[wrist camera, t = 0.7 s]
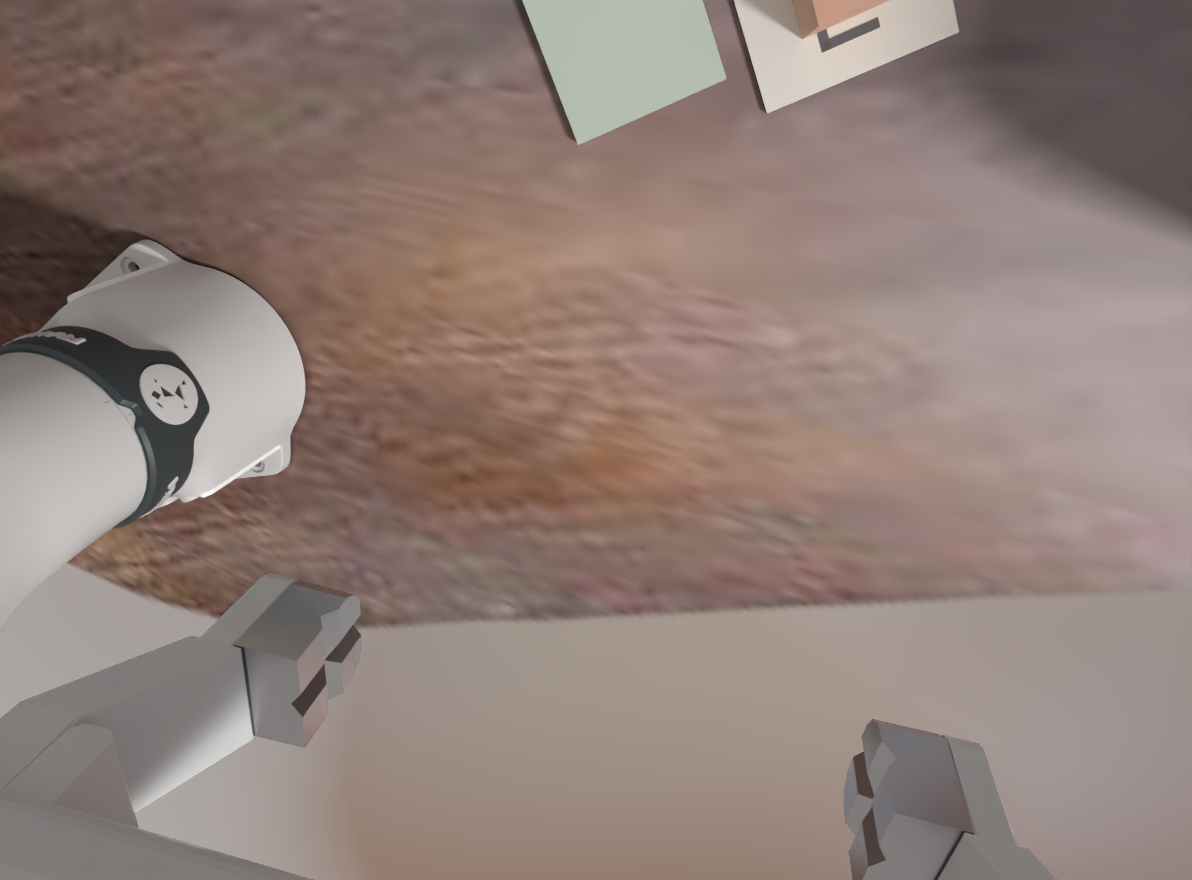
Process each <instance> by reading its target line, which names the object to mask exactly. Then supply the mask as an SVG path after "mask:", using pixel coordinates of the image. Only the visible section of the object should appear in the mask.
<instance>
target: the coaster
mask: <svg viewBox="0 0 1192 880" xmlns="http://www.w3.org/2000/svg"><path fill="white" fill-rule="evenodd" d="M522 1H523V3H524V6H525V9H526V11H527V14H528V16H529V19H530V22H531V24H532V27H533V29H534V32H535V35H536V37H537V40H538V42H539V45H540V47H541V50H542V53H543V55H544V58H545V60H546V63H547V66H548V68H549V71H550V73H551V76H552V79H553V81H554V84H555V86H556V89H557V91H558V94H559V97H560V99H561V102H562V104H563V107H564V110H565V112H566V115H567V117H568V120H569V123H570V125H571V128H572V130H573V133H574V136H575V138H576V141H577V143H578V145H580V144H582V143H584V142H587V141H589V140H591V139H593V138H596V137H598V136H600V135H602V134H605V133H607V132H609V131H611V130H614V129H616V128H618V127H620V126H622V125H625V124H627V123H629V122H631V121H634V120H636V119H638V118H640V117H643V116H645V115H647V114H649V113H652V112H654V111H656V110H658V109H661V108H663V107H665V106H667V105H670V104H672V103H674V102H676V101H678V100H681V99H683V98H685V97H687V96H690V95H692V94H694V93H696V92H699V91H701V90H703V89H705V88H708V87H710V86H712V85H714V84H717V83H719V82H721V81H723V80H726V79H727V78H726V75H725V71H724V68H723V65H722V62H721V58H720V55H719V52H718V48H717V45H716V42H715V39H714V35H713V32H712V29H711V26H710V22H709V19H708V16H707V13H706V9H705V6H704V3H703V0H522Z"/></svg>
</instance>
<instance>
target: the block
mask: <svg viewBox="0 0 1192 880" xmlns="http://www.w3.org/2000/svg"><path fill="white" fill-rule="evenodd" d="M792 1H793V5H794V9H795V13H796V16H797V20H798V24H799V28H800V31H801V35H802V39H805V38H807V37H809V36H811V35H814V34H816V33H818V32H820V31H822V30H825V29H827V28H829V27H831V26H834V25H836V24H838V23H840V22H843V21H845V20H847V19H849V18H851V17H854V16H856V15H858V14H860V13H863V12H865V11H867V10H869V9H872V8H874V7H876V6H878V5H880V4H883V3H885V2H887V1H889V0H792Z"/></svg>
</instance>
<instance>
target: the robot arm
mask: <svg viewBox="0 0 1192 880" xmlns="http://www.w3.org/2000/svg"><path fill="white" fill-rule="evenodd" d="M136 264H137V265H138V267H139V270H138V269H137V267H136ZM67 301H68V304H66V305H65V306H64V307H62V308H61V309H60V310H59V311H58V312H57V313H56V314H55V315H54V316H53V317H52V318H51V319H50V320H49V321H48V322H47V323H46V324H45V325H44V326H43V327H42V328H41V329H40V330H39V331H38V332H34V333H29V334H26V335H23V336H21V337H18V338H15V339H14V340H12V341H10V342H7V343H5V344H4V345H2V346H1V347H0V634H1V633H2V630H3V629H4V628H5V626H6V624H7V623H8V621H9V620H10V618H11V617H12V616H13V614H14V613H15V612H16V610H17V609H18V608H19V606H20V605H21V604H22V603H23V602H24V601H25V600H26V599H27V598H28V596H29V595H30V594H31V593H32V592H33V591H34V590H35V589H36V588H37V587H38V586H39V585H41V584H42V583H43V582H44V581H45V580H46V579H48V578H49V577H50V576H51V575H52V574H54V573H55V572H56V571H57V570H58V569H59V568H61V567H62V566H63V565H64V564H66V563H67V562H68V561H69V560H70V559H72V558H73V557H74V556H75V555H77V554H78V553H79V552H80V551H82V550H83V549H84V548H86V547H87V546H88V545H90V544H91V543H92V542H94V541H95V540H96V539H98V538H99V537H100V536H102V535H103V534H105V533H106V532H107V531H109V530H110V529H113V528H118V527H122V526H125V525H128V524H130V523H132V522H133V521H135V520H137V519H138V518H141V517H143V516H145V515H146V514H147V515H148V514H149V513H151V512H152V511H154V510H155V509H157V508H159V507H162V506H165V505H167V504H170V503H172V502H173V501H175V500H176V499H178V498H179V499H180V500H181V501H182V502H189V501H192V500H194V499H196V498H198V497H199V496H200V497H207V496H209V495H211V494H213V493H215V492H216V491H218V490H219V489H221V488H222V487H224V486H225V485H227V484H228V483H229V482H231V481H232V480H234V479H236V478H245V477H255V476H265V475H273V474H277V473H279V472H280V471H282V470H284V469H285V468H287V466H288V465H289V462H290V436H291V432H292V430H293V427H294V425H295V424H296V422H297V420H298V418H299V415H300V413H301V410H302V407H303V403H304V397H305V375H304V369H303V364H302V360H301V357H300V354H299V351H298V348H297V346H296V344H295V342H294V339H293V337H292V335H291V334H290V332H289V330H288V328H287V327H286V325H285V324H284V322H283V321H282V319H281V318H280V317H279V315H278V314H277V313H276V312H275V311H274V309H273V308H272V307H271V306H270V305H269V304H268V303H267V302H266V301H265V300H264V299H263V298H262V297H261V296H260V295H259V294H257V293H256V292H255V291H254V290H253V289H251V288H250V287H248V286H247V285H246V284H244V283H242V282H241V281H239V280H237V279H236V278H234V277H232V276H230V275H228V274H226V273H223V272H221V271H218V270H215V269H212V268H208V267H204V266H200V265H196V264H192V263H189V262H187V261H184V260H182V259H181V258H180V257H178V256H177V255H175V254H174V253H172V252H171V251H169V250H168V249H167V248H165V247H163V246H162V245H160V244H158V243H156V242H154V241H152V240H146V239H145V240H141V241H139V242H136V243H134V244H132V245H130V246H129V247H128V248H127V249H126V250H125V251H124V252H123V253H122V254H120V255H119V256H118V257H117V258H116V259H115V260H114V261H113V262H112V263H111V264H110V265H109V266H108V267H106V268H105V269H104V270H103V271H102V272H101V273H100V274H99V275H98V276H97V277H96V278H95V279H94V280H92V281H91V282H90V283H89V284H88V285H87V286H86V287H85V288H84V289H83V290H80V291H77V292H75V293H73V294H71V295H69V296H68V297H67ZM260 461H261V462H260ZM359 616H360V603H359V598H358V597H356V596H355V595H353V594H350V593H346V592H342V591H338V590H335V589H331V588H327V587H323V586H320V585H316V584H312V583H308V582H305V581H301V580H295V579H291V578H287V577H284V576H280V575H276V574H273V573H270V574H268V575H265V576H262V577H261V578H260V579H259V580H258V581H257V582H256V583H255V584H254V585H253V586H252V587H251V588H250V589H249V590H248V591H247V592H246V593H245V594H244V595H243V596H242V597H241V598H240V599H239V600H238V601H237V602H236V603H235V604H234V605H233V606H232V607H231V608H230V609H229V610H228V611H227V612H226V613H225V614H224V615H223V616H222V617H221V618H219V619H218V620H217V621H216V622H215V624H213V625H212V626H211V628H209V629H208V631H206V632H205V633H204V634H203V635H202V636H201V637H200V638H199V637H195V636H190V637H187V638H184V639H182V640H179V641H177V642H174V643H171V644H169V645H166V646H163V647H161V648H158V649H156V650H153V651H151V652H148V653H145V654H143V655H140V656H138V657H135V658H133V659H130V660H127V661H125V662H122V663H119V664H117V665H114V666H112V667H109V668H107V669H104V670H101V671H99V672H96V673H94V674H91V675H88V676H86V677H83V678H81V679H78V680H75V681H73V682H70V683H68V684H65V685H63V686H60V687H57V688H55V689H52V690H49V691H47V692H44V693H42V694H39V695H37V696H34V697H31V698H29V699H26V700H24V701H21V702H20V703H18V704H17V705H16V706H15V707H14V708H12V709H11V710H10V711H9V712H8V713H6V714H5V715H4V716H3V717H2V718H0V880H312V879H309V878H306V877H302V876H299V875H295V874H292V873H289V872H285V871H282V870H278V869H275V868H272V867H268V866H264V865H261V864H258V863H254V862H251V861H248V860H244V859H241V858H237V857H234V856H230V855H227V854H224V853H220V852H217V851H213V850H210V849H207V848H203V847H200V846H196V845H193V844H190V843H186V842H183V841H179V840H176V839H172V838H169V837H166V836H162V835H159V834H155V833H152V832H149V831H145V830H142V829H139V827H138V824H137V820H136V816H135V813H136V812H137V811H138V810H140V809H142V808H143V807H145V806H147V805H148V804H150V803H151V802H153V801H155V800H156V799H158V798H159V797H161V796H163V795H164V794H166V793H167V792H169V791H171V790H172V789H174V788H175V787H177V786H179V785H180V784H182V783H183V782H185V781H187V780H188V779H190V778H191V777H193V776H195V775H196V774H198V773H199V772H201V771H203V770H204V769H206V768H207V767H209V766H211V765H212V764H214V763H215V762H217V761H219V760H220V759H222V758H223V757H225V756H226V755H228V754H230V753H231V752H233V751H234V750H236V749H238V748H239V747H241V746H242V745H244V744H246V743H247V742H249V741H251V740H252V739H253V736H258V737H262V738H266V739H270V740H274V741H279V742H283V743H287V744H291V745H296V746H300V747H304V748H305V747H306V746H307V745H308V743H309V742H310V740H311V739H312V737H313V736H314V734H315V733H316V731H317V730H318V729H319V727H320V725H321V724H322V723H323V721H324V720H325V718H326V717H327V715H328V700H329V699H331V698H333V697H335V696H337V695H339V694H341V693H343V692H344V690H345V688H346V687H347V686H348V684H349V683H350V681H351V679H352V677H353V675H354V673H355V670H356V667H357V665H358V662H359V658H360V653H361V634H360V633H359V632H358V630H357V629H356V627H355V626H354V625H353V624H354V622H355V621H356V620H357V618H358V617H359ZM862 741H863V748H864V752H862V753H860V754H858V755H856V756H854V757H853V759H852V761H851V764H850V766H849V769H848V772H847V776H846V782H845V788H844V813H845V822H846V824H847V825H848V826H849V828H850V829H851V831H852V832H853V833H854V835H855V839H854V841H853V843H852V845H851V848H850V850H849V856H850V864H851V872H852V880H1057V879H1056V878H1055V877H1054V876H1053V875H1052V874H1051V873H1050V871H1049V870H1048V869H1047V868H1046V867H1045V866H1044V865H1043V864H1042V863H1041V862H1040V861H1039V860H1038V859H1037V858H1036V857H1035V855H1034V854H1033V853H1032V852H1031V851H1030V850H1029V849H1026V848H1023V847H1019V846H1017V844H1016V840H1015V838H1014V835H1013V832H1012V829H1011V826H1010V823H1009V820H1008V817H1007V815H1006V812H1005V809H1004V806H1003V803H1002V800H1001V797H1000V794H999V792H998V789H997V786H996V783H995V780H994V777H993V775H992V771H991V769H990V766H989V763H988V760H987V757H986V754H985V751H984V749H983V748H982V747H981V746H980V745H979V743H975V742H970V741H967V740H962V739H958V738H953V737H949V736H944V735H942V736H940V735H939V734H935V733H931V732H926V731H922V730H918V729H913V728H909V727H905V726H900V725H896V724H891V723H888V722H883V721H879V720H875V719H872V720H871V721H870V722H869V723H868V724H867V726H866V728H865V731H864V733H863V735H862Z"/></svg>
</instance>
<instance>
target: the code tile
mask: <svg viewBox="0 0 1192 880" xmlns="http://www.w3.org/2000/svg"><path fill="white" fill-rule="evenodd" d="M734 3H735V6H736V10H737V13H738V17H739V20H740V23H741V27H742V30H743V34H744V37H745V40H746V44H747V47H748V51H749V54H750V57H751V61H752V64H753V68H754V71H755V75H756V78H757V81H758V85H759V88H760V92H761V95H762V98H763V102H764V105H765V109H766V112H767V113H770V112H772V111H774V110H777V109H779V108H782V107H784V106H786V105H789V104H791V103H793V102H796V101H798V100H800V99H803V98H805V97H808V96H810V95H812V94H815V93H817V92H819V91H822V90H824V89H826V88H829V87H831V86H834V85H836V84H838V83H841V82H843V81H845V80H848V79H850V78H852V77H855V76H857V75H860V74H862V73H864V72H867V71H869V70H871V69H874V68H876V67H878V66H881V65H883V64H886V63H888V62H890V61H893V60H895V59H897V58H900V57H902V56H904V55H907V54H909V53H912V52H914V51H916V50H919V49H921V48H923V47H926V46H928V45H930V44H933V43H935V42H938V41H940V40H942V39H945V38H947V37H949V36H952V35H954V34H956V33H959V29H958V24H957V18H956V13H955V8H954V3H953V0H889V1H887V2H885V3H883V4H880V5H878V6H876V7H874V8H872V9H869V10H867V11H865V12H863V13H860V14H858V15H856V16H854V17H851V18H849V19H847V20H845V21H843V22H840V23H838V24H836V25H834V26H831V27H829V28H827V29H825V30H822V31H820V32H818V33H816V34H814V35H811V36H809V37H807V38H805V39H802V35H801V31H800V28H799V24H798V20H797V16H796V13H795V9H794V5H793V1H792V0H734Z"/></svg>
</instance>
